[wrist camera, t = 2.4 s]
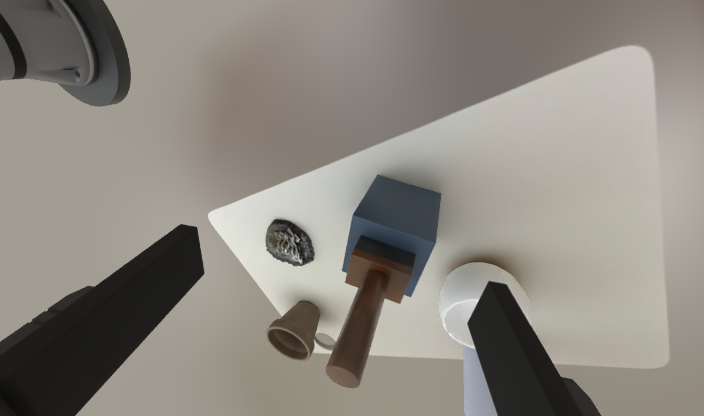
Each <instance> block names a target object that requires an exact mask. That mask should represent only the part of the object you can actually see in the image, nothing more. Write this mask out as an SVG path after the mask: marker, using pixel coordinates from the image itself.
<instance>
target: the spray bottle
mask: <svg viewBox="0 0 704 416" xmlns="http://www.w3.org/2000/svg"><path fill="white" fill-rule="evenodd" d="M463 352H464V403H465V404H464V408H465V416H498V415H497V412H496V409H495V406H494V403H493V400H492V397H491V394H490V391H489V388H488V385H487V382H486V379H485V376H484V373H483V370H482V367H481V364H480V361H479V358H478V355H477V352H476V349H474V348H471V347H468V346H465V345H463Z"/></svg>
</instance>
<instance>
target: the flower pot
mask: <svg viewBox="0 0 704 416" xmlns="http://www.w3.org/2000/svg"><path fill="white" fill-rule="evenodd" d="M319 316H320V314H319V311H318V309H317V308H316V307H315V306H314V305H313V304H311V303H309V302H306V301H300V302H298V303H297V304H296V305H295V306H293V307H292V308H291V309H290V310H289V311H288V312H287V313H286V314H285V315H284V316H283V317H282V318H281V319H277V320H275V321H274V322H273V323H272V324H271V325H270V327H269V328H268V329H267V331H266V336H267V339H268V341H269V343H270V344H271V345H272V346H273V347H274V348H275V349H276V350H277V351H278V352H280V353H281V354H283V355H284V356H286V357H288V358H290V359H293V360H297V361H305V360H308V359H309V358H310V356H311V354H312V352H313V350H314V337H315V333H316V329H317V325H318V321H319Z"/></svg>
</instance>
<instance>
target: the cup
mask: <svg viewBox="0 0 704 416" xmlns="http://www.w3.org/2000/svg"><path fill="white" fill-rule="evenodd" d="M488 281H493V282H498V283H503V284H507V286H508V287H509V289H510V291H511V293H512V294H513V296H514V298H515V299H516V301H517V303H518V305H519V306H520V308H521V310H522V311H523V313H524V315H525V316H526V318H527V320H528V322H529V323H530V325H531V327H532V311H531V307H530V303H529V300H528V296H527V294H526V293H525V292H524V290H523V289H522V288H521V286H520V285H519V284H518V282H517V281H516V280H515V278H514V277H513V276H512V274H510V273H508V272H506V271H505V270H503V269H501V268H499V267H497V266H495V265H492V264H488V263H483V262H476V263H468V264H465V265H462V266H459V267H457V268H455V269H454V270H453V271H452V272H451V273H450V274H449V275H448V276H447V277H446V279H445V281H444V283H443V285H442V288H441V291H440V294H439V306H438V308H439V312H440V315H441V319H442V323H443V326H444V329H445V330H446V331H447V332H448V333H449V334H450V336H451V337H452V338H453V339H455V340H456V341H458V342H460V343H462V344H463V345H465V346H468V347H471V348H474V349H475V346H474V343H473V340H472V337H471V334H470V331H469V328H468V325H467V322H468V320H469V319H470V317H471V315H472V313H473V311H474V309H475V307H476V305H477V303H478V301H479V299H480V297H481V295H482V293H483V291H484V289H485V287H486V285H487V283H488Z"/></svg>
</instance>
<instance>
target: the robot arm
mask: <svg viewBox="0 0 704 416" xmlns="http://www.w3.org/2000/svg"><path fill="white" fill-rule="evenodd" d="M98 74H99V60H98V55H97V51H96V47H95V44H94V42H93V39H92V37H91V35H90V32H89V30H88V28H87V27H86V25H85V23H84V21H83V20H82V18H81V17H80V15H79V14H78V12H77V11H76V9H75V8H74V7H73V5H72V4H71V3H70V2H69V1H68V0H0V80H10V79H24V78H28V79H35V80H41V81H48V82H53V83H59V84H66V85H75V86H81V85H89V84H92V83H94V82H95V81H96V79H97V77H98ZM203 275H204V267H203V261H202V255H201V249H200V242H199V237H198V230H197V227H194V226H188V225H182V224H181V225H179V226H177V227H176V228H175V229H173V230H172V231H171V232H169V233H168V234H167V235H165V236H164V237H162V238H161V239H160V240H158V241H157V242H155V243H154V244H153V245H151V246H150V247H149V248H147V249H146V250H144V251H143V252H142V253H140V254H139V255H138V256H136V257H135V258H134V259H132V260H131V261H130V262H128V263H127V264H125V265H124V266H123V267H121V268H120V269H118V270H117V271H116V272H114V273H113V274H112V275H110V276H109V277H108V278H106V279H105V280H103V281H102V282H101V283H99V284H98V285H96V286H95V287H92V286H87V287H85V288H83V289H80V290H78V291H76V292H74V293H72V294H69V295H67V296H66V297H64V298H63V299H62V300H60V301H59V302H57V303H56V304H54V305H53V306H51V307H50V308H48V311H46V312H45V311H44V312H43V313H41V314H40V315H38V316H37V317H36V318H34V319H33V320H32V322H30V323H27V324H25V325H24V326H23V327H21V328H20V329H18V330H17V331H15V332H14V333H12V334H11V335H9V336H8V337H7V338H5V339H4V340H2V341H1V342H0V416H75V415H76V414H77V413H78V412H79V411H80V410H81V409H82V408H83V407H84V405H85V404H86V403H87V402H88V401H89V400H90V399H91V398H92V397H93V395H94V394H95V393H96V392H97V391H98V390H99V389H100V388H101V387H102V386H103V384H104V383H105V382H106V381H107V380H108V379H109V378H110V377H111V376H112V375H113V374H114V372H115V371H116V370H117V369H118V368H119V367H120V366H121V365H122V364H123V362H124V361H125V360H126V359H127V358H128V357H129V356H130V355H131V354H132V353H133V352H134V350H135V349H136V348H137V347H138V346H139V345H140V344H141V343H142V342H143V341H144V340H145V338H146V337H147V336H148V335H149V334H150V333H151V332H152V331H153V330H154V329H155V327H156V326H157V325H158V324H159V323H160V322H161V321H162V319H164V318H165V316H166V315H167V314H168V313H169V312H170V311H171V310H172V309H173V308H174V307H175V305H176V304H177V303H178V302H179V301H180V300H181V299H182V298H183V296H185V294H186V293H187V292H188V291H189V290H190V289H191V288H192V287H193V286H194V285H195V283H196V282H197V281H198V280H199V279H200V278H201V277H202V276H203ZM467 325H468V328H469V331H470V334H471V337H472V340H473V343H474V346H475V349H476V352H477V355H478V358H479V361H480V364H481V367H482V370H483V373H484V376H485V379H486V382H487V385H488V388H489V391H490V394H491V397H492V400H493V403H494V406H495V409H496V412H497V415H498V416H601V415H600V413H599V412H598V410H597V408H596V407H595V405H594V404H593V402H592V401H591V399H590V398H589V397H588V395H587V394H586V393H585V392H584V391H583V390H582V389H581V388H580V387H579V386H578V385H577V384H576V383H575V382H574V380H572V379H568V378H563V377H561V376H560V375H559V373H558V371H557V370H556V368H555V366H554V364H553V363H552V361H551V359H550V358H549V356H548V354H547V352H546V351H545V349H544V347H543V346H542V344H541V342H540V340H539V339H538V337H537V335H536V334H535V332H534V330H533V328H532V327H531V325H530V323H529V322H528V320H527V318H526V316H525V315H524V313H523V311H522V310H521V308H520V306H519V305H518V303H517V301H516V299H515V298H514V296H513V294H512V293H511V291H510V289H509V287H508V286H507V284H503V283H498V282H493V281H488V283H487V285H486V287H485V289H484V291H483V293H482V295H481V297H480V299H479V301H478V303H477V305H476V307H475V309H474V311H473V313H472V315H471V317H470V319H469V320H468V322H467Z"/></svg>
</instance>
